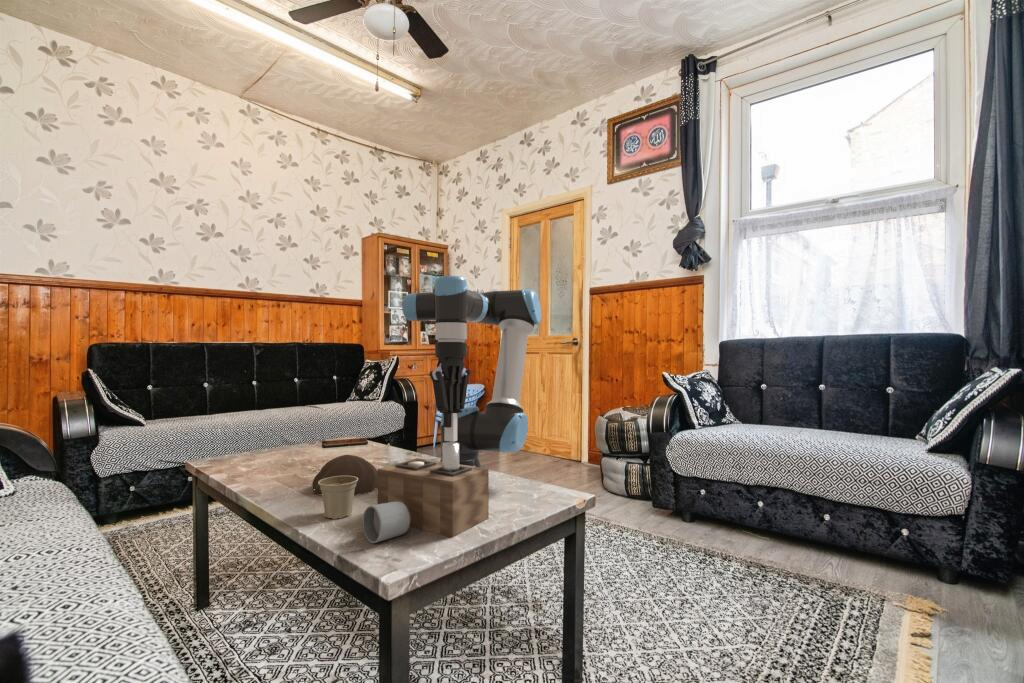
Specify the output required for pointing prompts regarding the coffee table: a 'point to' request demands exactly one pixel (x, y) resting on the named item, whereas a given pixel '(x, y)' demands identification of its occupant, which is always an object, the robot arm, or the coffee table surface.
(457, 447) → the peg steel
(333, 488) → the flower pot
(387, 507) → the ceramic mug
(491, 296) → the robot arm
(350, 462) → the decorative dome
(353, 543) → the coffee table surface
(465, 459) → the jar
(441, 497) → the walnut block
